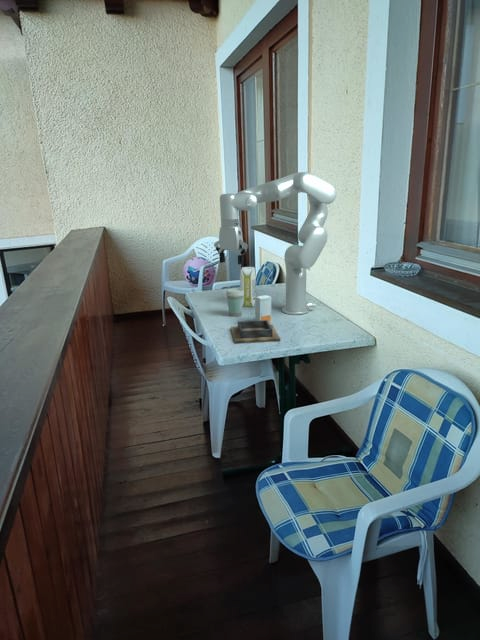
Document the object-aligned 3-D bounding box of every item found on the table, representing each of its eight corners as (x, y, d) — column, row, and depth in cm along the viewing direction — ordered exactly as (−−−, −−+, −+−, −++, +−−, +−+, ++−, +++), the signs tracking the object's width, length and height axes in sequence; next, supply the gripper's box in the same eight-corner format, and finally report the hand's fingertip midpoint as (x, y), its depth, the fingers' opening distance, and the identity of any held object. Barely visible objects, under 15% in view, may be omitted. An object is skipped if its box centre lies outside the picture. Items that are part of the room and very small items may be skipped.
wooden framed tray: (272, 326, 191) (272, 317, 189) (280, 341, 173) (280, 331, 172) (230, 328, 189) (230, 320, 188) (234, 343, 172) (234, 333, 171)
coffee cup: (242, 318, 203) (242, 292, 200) (224, 317, 205) (224, 292, 201) (246, 312, 211) (245, 288, 208) (228, 312, 213) (228, 287, 209)
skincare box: (259, 325, 193) (259, 298, 189) (255, 322, 196) (254, 296, 193) (271, 323, 195) (271, 296, 192) (266, 320, 199) (266, 294, 195)
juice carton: (256, 302, 228) (255, 266, 222) (255, 307, 220) (254, 269, 214) (241, 302, 229) (241, 266, 223) (240, 307, 220) (239, 269, 215)
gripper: (251, 223, 187) (252, 263, 192) (218, 222, 196) (220, 260, 201) (241, 225, 181) (243, 266, 186) (208, 224, 190) (210, 263, 195)
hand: (231, 263), depth 194 cm, fingers open, 9 cm apart
